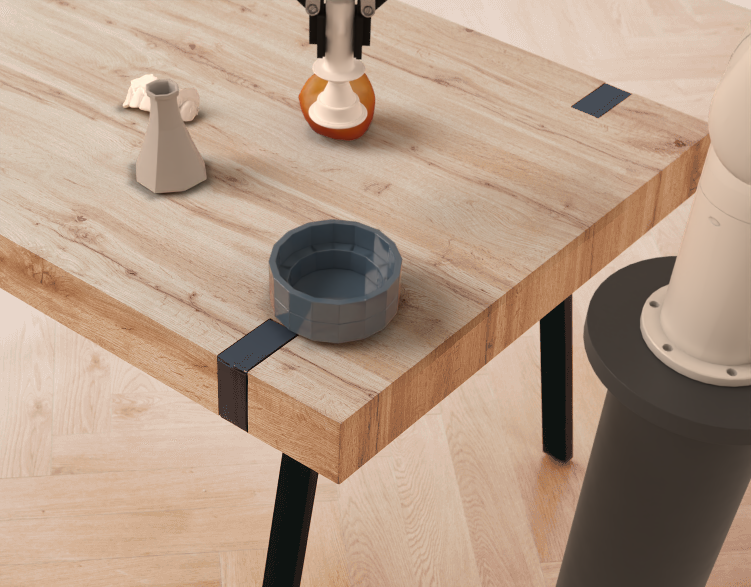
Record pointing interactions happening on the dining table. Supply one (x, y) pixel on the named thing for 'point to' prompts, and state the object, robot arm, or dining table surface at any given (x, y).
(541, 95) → the dining table surface
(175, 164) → the flask
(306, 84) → the fruit
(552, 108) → the dining table surface
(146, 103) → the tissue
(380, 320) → the bowl
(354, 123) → the candle
